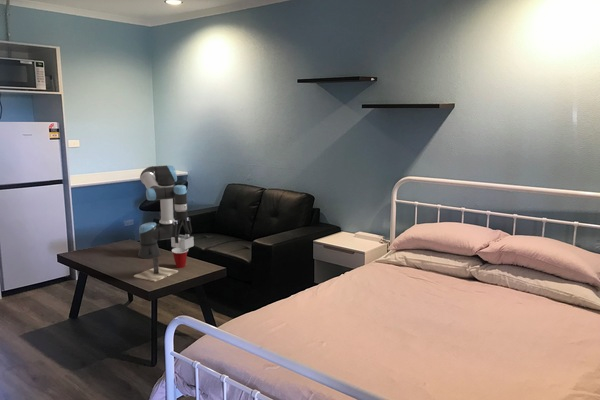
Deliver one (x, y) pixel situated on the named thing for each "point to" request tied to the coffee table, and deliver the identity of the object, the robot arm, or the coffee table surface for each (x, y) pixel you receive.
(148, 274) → the keeper board
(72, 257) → the coffee table surface
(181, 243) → the white box
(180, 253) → the plastic cup
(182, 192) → the robot arm
